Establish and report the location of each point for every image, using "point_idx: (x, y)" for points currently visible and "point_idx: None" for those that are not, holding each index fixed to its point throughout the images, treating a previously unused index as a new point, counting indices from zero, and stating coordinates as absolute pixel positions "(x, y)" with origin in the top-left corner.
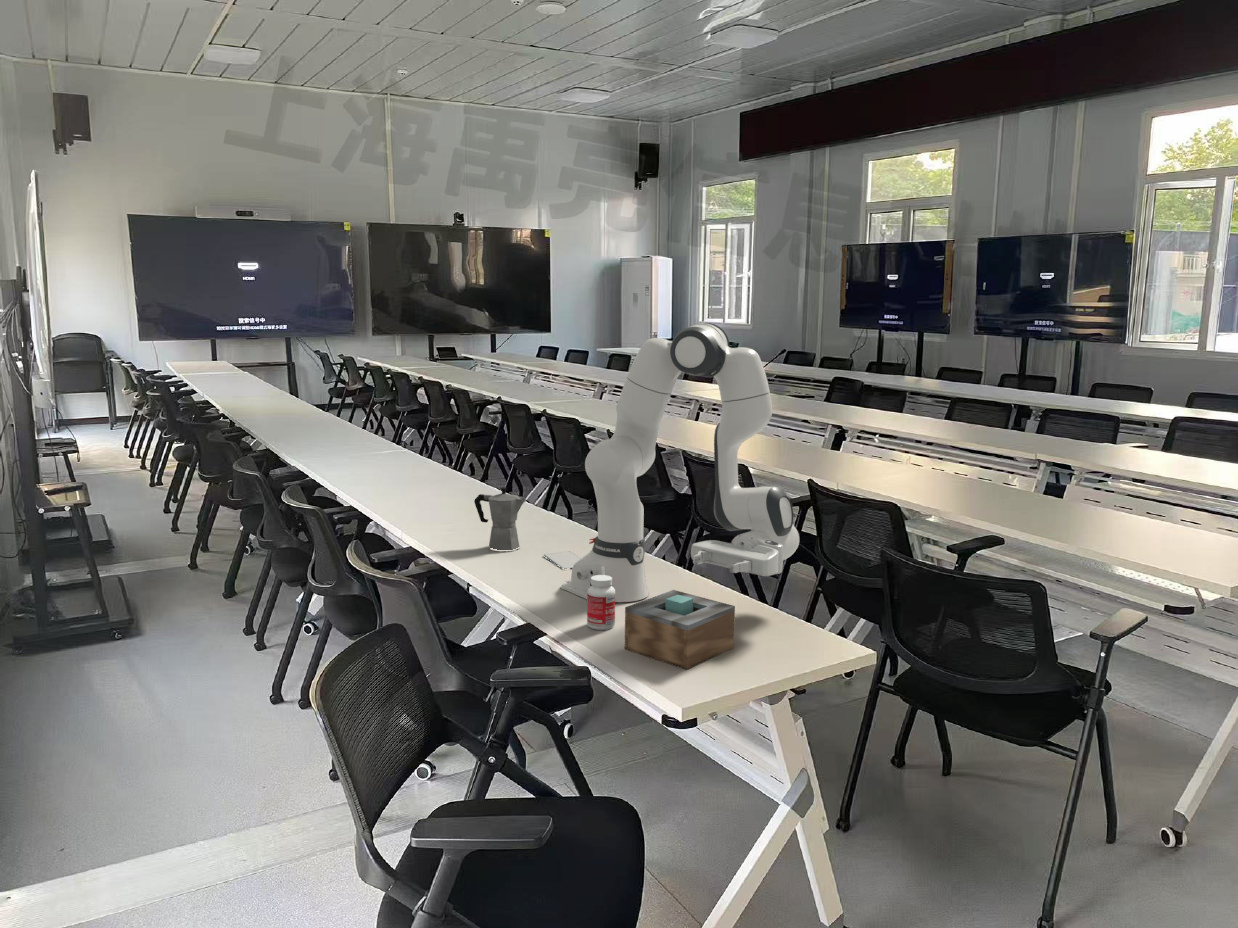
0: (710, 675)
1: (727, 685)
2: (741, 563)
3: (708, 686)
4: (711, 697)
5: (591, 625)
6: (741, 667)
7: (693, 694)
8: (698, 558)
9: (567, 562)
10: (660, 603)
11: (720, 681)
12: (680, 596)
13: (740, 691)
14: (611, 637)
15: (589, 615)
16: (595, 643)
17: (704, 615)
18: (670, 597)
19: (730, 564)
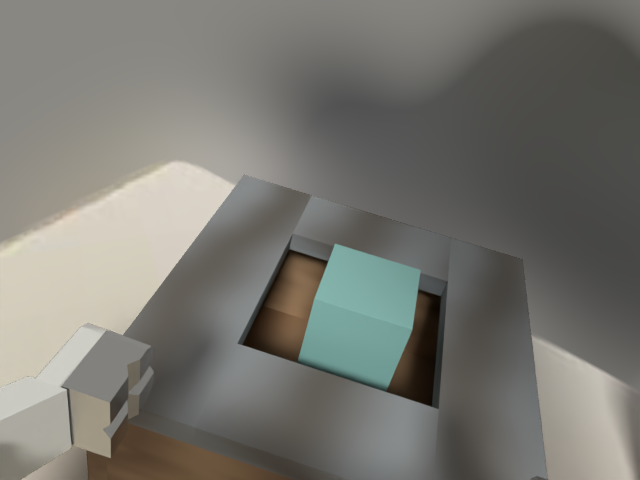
0: (149, 278)
1: (91, 240)
2: (10, 386)
3: (143, 229)
4: (126, 192)
5: None
6: (49, 346)
7: (171, 197)
8: (533, 477)
9: None
10: (450, 320)
11: (114, 255)
12: (384, 310)
13: (52, 221)
14: (573, 444)
15: None
16: (564, 382)
17: (216, 249)
18: (414, 288)
19: (140, 343)
